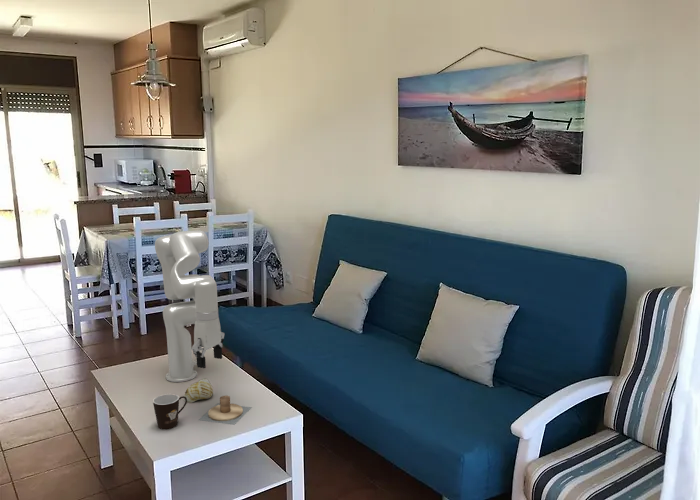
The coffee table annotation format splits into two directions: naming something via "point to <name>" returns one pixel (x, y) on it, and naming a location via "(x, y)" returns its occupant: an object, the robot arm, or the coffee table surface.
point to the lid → (225, 410)
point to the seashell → (199, 391)
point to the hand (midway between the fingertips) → (210, 362)
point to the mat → (234, 421)
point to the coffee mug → (167, 410)
